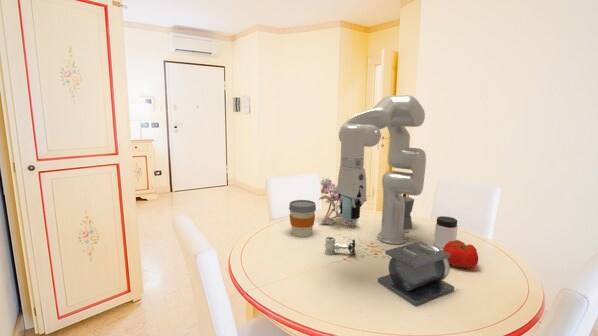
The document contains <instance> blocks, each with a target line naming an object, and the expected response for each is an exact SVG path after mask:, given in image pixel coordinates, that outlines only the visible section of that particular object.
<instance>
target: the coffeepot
mask: <svg viewBox="0 0 598 336" xmlns="http://www.w3.org/2000/svg"><path fill="white" fill-rule="evenodd" d="M402 197H403V199H404V202H405V210H404V224H403V229H404V230H405V229H409V230H410V231H411V229H413V221H412V216H411V213H412V211H413V206H414V202H415V199H414V198H412V197H409V196H407V194H402Z"/></svg>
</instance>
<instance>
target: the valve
mask: <svg viewBox="0 0 598 336" xmlns="http://www.w3.org/2000/svg"><path fill="white" fill-rule="evenodd" d="M351 241H352V242H350V243H349V244H348V245H346V244H342V245H341V244H340V242H336V238H335V237H334V236H327V237H325V244H324V247H325V248H324V249H325V251H324V254H326V255H328V256H333V255H335V251H340V250H341V249H342V250H346V249H347V250H348V251H349V252H350V254H351V256H356V255H355V254H356V239H352V240H351Z"/></svg>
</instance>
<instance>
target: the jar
mask: <svg viewBox="0 0 598 336" xmlns="http://www.w3.org/2000/svg"><path fill="white" fill-rule="evenodd" d="M457 236H458V220H457V218H454V217H451V216H442V215H441V216H438V217H437V218H436V224H435V229H434V238H433V239H434V240H433V244H434V246H436V247H438V248H440V249H444V246H445V245H446V244H447V243H448V242H449V241H455V240H457Z"/></svg>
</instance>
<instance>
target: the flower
mask: <svg viewBox="0 0 598 336" xmlns="http://www.w3.org/2000/svg"><path fill="white" fill-rule="evenodd" d="M320 185H321V186H322V188H321V189H320V192H321V193H322V194H325V195H323V196H321V197H319V199H318V201H320V200H323V199H327V200H326V201H325V203H328V204H329V205H328V210H327V212H326V214H325V216H324V218H323V219H322V221H321V222H320V223H319V226H322V225H329V226H331V225H333V224H334V223H335V220H334V219H335V218H342V214H340V212H339V211H340V206H341V203H340V201H339V200H340V198H339V196H338V194H337V192H336V189H337V188H338V184H337V185H336V184H335V183H333V182H332V180H331V179H329V178H325V179H324V178H322V180H321V181H320ZM327 194H330V195H329V196H328V195H327ZM335 202H336V203H335ZM338 202H339V203H338ZM331 207H333V208H332V209H331ZM332 213H335V216H333V217H330V216H331V215H332ZM358 221H359V218H357V220H345V221H343V223H344V224H345V225H349V224H350V226H352V227H354V226H356V225H359V223H358Z"/></svg>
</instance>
